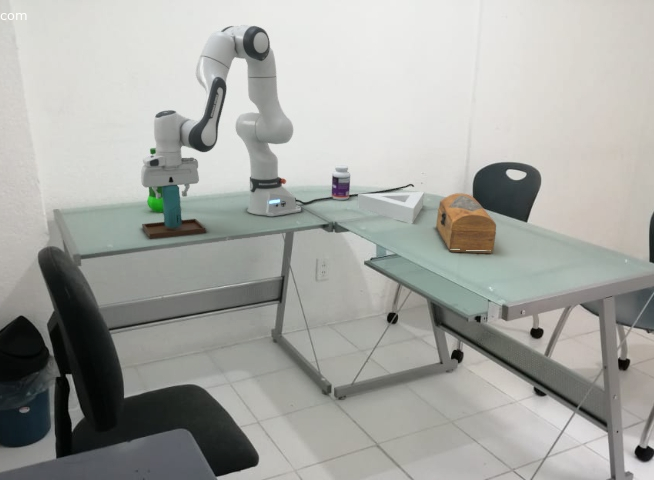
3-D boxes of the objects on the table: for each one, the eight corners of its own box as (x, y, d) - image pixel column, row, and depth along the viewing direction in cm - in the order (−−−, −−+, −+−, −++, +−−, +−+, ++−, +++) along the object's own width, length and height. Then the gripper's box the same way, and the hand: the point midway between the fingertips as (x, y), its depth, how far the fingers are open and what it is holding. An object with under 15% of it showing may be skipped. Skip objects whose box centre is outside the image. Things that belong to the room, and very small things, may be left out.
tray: (195, 223, 233) (195, 218, 232) (205, 232, 222) (205, 228, 221) (142, 228, 225) (142, 223, 224) (149, 238, 214) (149, 234, 213)
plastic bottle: (162, 205, 255) (157, 145, 245) (177, 210, 249) (173, 149, 239) (142, 210, 248) (136, 148, 238) (157, 215, 242) (152, 152, 232)
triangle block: (357, 208, 258) (358, 193, 256) (396, 199, 274) (397, 185, 272) (412, 224, 238) (413, 208, 236) (451, 213, 254) (453, 198, 251)
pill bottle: (330, 196, 277) (331, 164, 271) (347, 196, 277) (348, 164, 272) (332, 200, 269) (334, 168, 264) (350, 200, 270) (352, 168, 264)
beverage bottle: (178, 232, 219) (174, 177, 211) (161, 230, 221) (157, 176, 213) (185, 227, 225) (182, 173, 217) (168, 226, 226) (164, 172, 218)
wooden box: (433, 227, 234) (437, 192, 228) (476, 229, 233) (481, 193, 227) (444, 252, 206) (449, 213, 201) (493, 254, 206) (499, 214, 200)
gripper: (195, 155, 219) (197, 193, 225) (138, 159, 211) (141, 197, 217) (200, 158, 214) (202, 196, 220) (141, 162, 206) (145, 201, 212)
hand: (171, 197), depth 218 cm, fingers open, 8 cm apart
